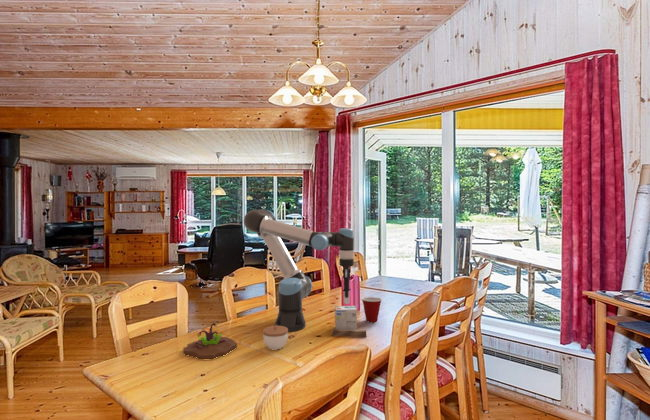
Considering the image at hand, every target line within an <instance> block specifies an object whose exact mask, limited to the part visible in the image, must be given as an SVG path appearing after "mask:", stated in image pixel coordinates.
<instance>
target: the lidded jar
mask: <svg viewBox="0 0 650 420" xmlns="http://www.w3.org/2000/svg"><path fill="white" fill-rule="evenodd" d="M262 335H263V337H262V339H263V342H264V345H265V346H266V347H267V348H268V349H269V350H270V349H273V350H272V351H278V350H277V349H280V350H282V349H283V348H282V347H284V346H285V345H286V343H287V342H288V336H289V331H288V328H287V327H284V326H275V325H270V326H267V327H265V328H264V329H262ZM281 348H282V349H281Z"/></svg>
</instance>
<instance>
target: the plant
mask: <svg viewBox="0 0 650 420" xmlns="http://www.w3.org/2000/svg"><path fill="white" fill-rule="evenodd" d="M213 327H218V324H217V322H213V323H211V325H210V327H209V332H208V331H206V330H201V331H200V332H198V333H197V337H198V340H196V341H192V342H191V343H188V344H187V346H185V347H183V348H182V349H183V351H182V353H183V355H184V354H185V355H184V356H186V355H189V356H188V357H191V356H193V357H192V358H194V357H197V358H198V360H199V359H214V358H216V357H218V356H223V355H226V354H227V353H229V352H230V351H232V350H233V351H235V350H236V349H237V347H238V346H237V344H238V343H236V341H235V339H233V338H231V337H228V336H222V335H223V333H220V334H219V332H218V331H213ZM201 333H204V334H203V336H201ZM235 348H236V349H235ZM234 349H235V350H234ZM233 351H232V352H233ZM230 353H231V352H230ZM230 353H229V354H230ZM227 355H228V354H227ZM227 355H226V356H227ZM223 357H224V356H223ZM197 358H196V359H197ZM218 358H219V357H218ZM216 359H217V358H216ZM214 360H215V359H214Z"/></svg>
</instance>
